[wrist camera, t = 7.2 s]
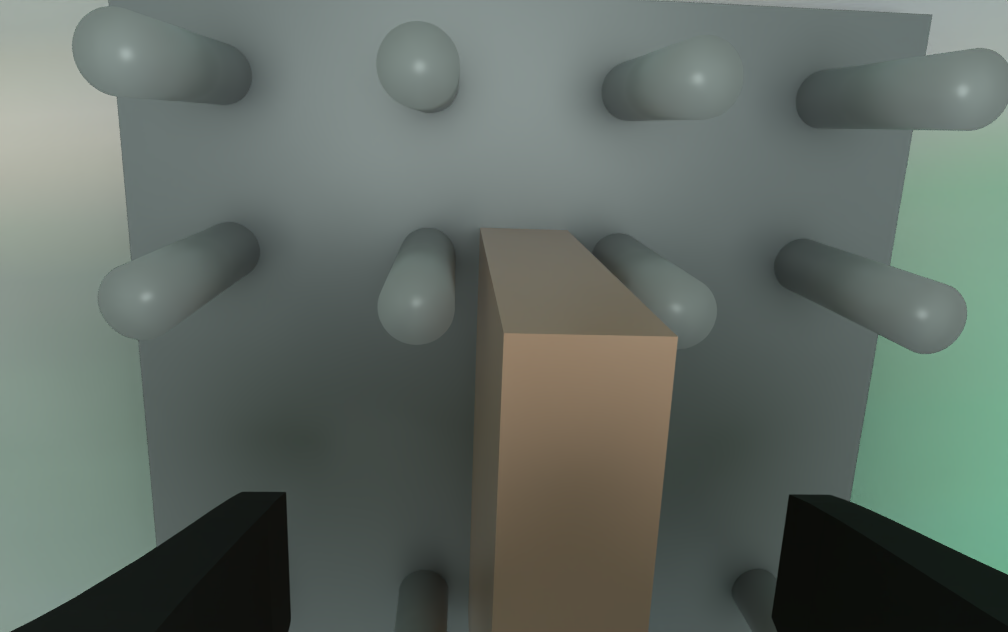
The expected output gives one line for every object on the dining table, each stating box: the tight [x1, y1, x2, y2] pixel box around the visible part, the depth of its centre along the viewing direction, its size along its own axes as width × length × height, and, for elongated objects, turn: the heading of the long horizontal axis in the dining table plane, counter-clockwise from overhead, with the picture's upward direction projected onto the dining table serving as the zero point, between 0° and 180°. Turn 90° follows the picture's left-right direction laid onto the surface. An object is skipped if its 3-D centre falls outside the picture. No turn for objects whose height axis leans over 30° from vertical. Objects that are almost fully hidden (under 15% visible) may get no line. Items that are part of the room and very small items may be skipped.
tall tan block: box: [468, 228, 678, 632], centre depth 11 cm, size 8×2×7 cm, turn 178°
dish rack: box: [72, 0, 1008, 632], centre depth 13 cm, size 16×14×5 cm
